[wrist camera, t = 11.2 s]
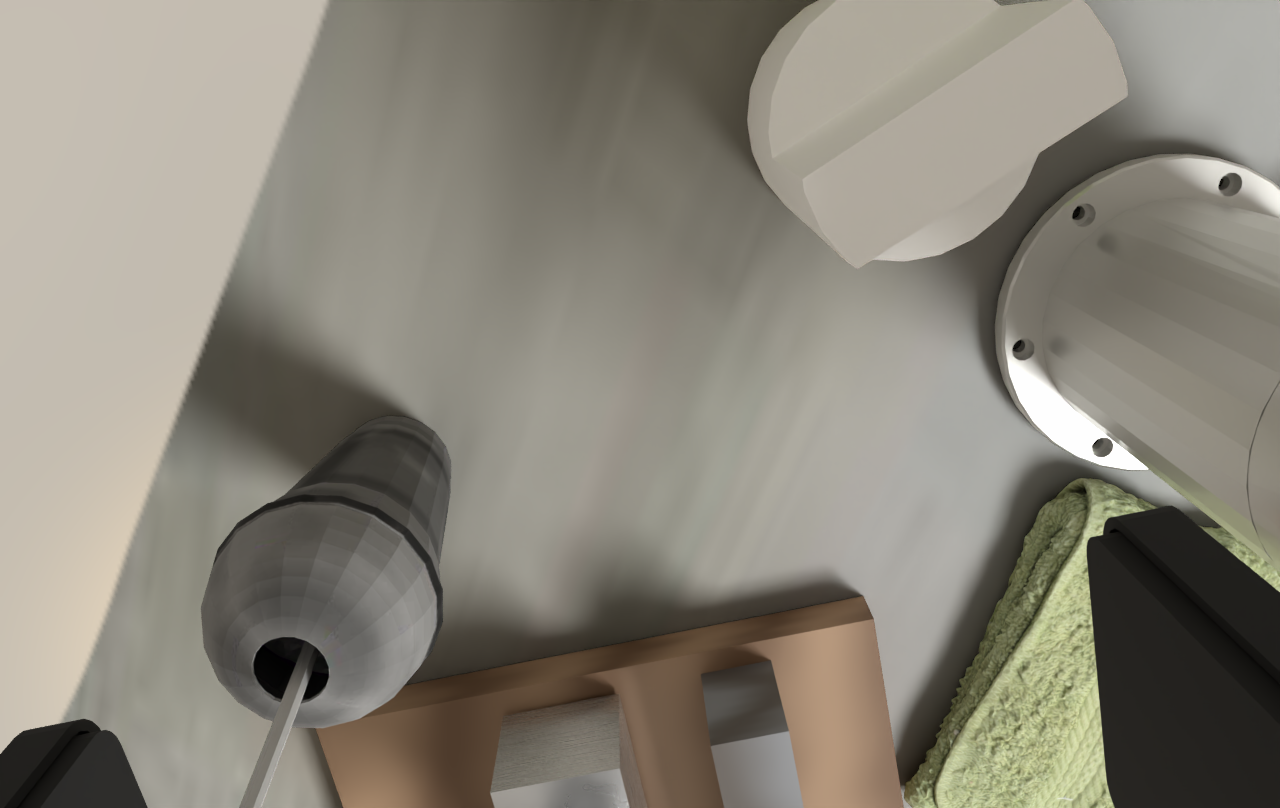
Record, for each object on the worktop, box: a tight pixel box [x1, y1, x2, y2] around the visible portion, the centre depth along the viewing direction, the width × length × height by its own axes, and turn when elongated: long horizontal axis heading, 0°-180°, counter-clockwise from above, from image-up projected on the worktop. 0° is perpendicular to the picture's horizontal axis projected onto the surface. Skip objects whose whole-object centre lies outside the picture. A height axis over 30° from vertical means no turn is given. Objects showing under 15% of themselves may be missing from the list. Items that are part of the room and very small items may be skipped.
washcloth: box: [904, 478, 1280, 808], centre depth 48 cm, size 13×18×3 cm
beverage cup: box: [201, 416, 451, 808], centre depth 35 cm, size 7×7×20 cm
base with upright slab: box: [747, 0, 1128, 269], centre depth 35 cm, size 9×9×12 cm
